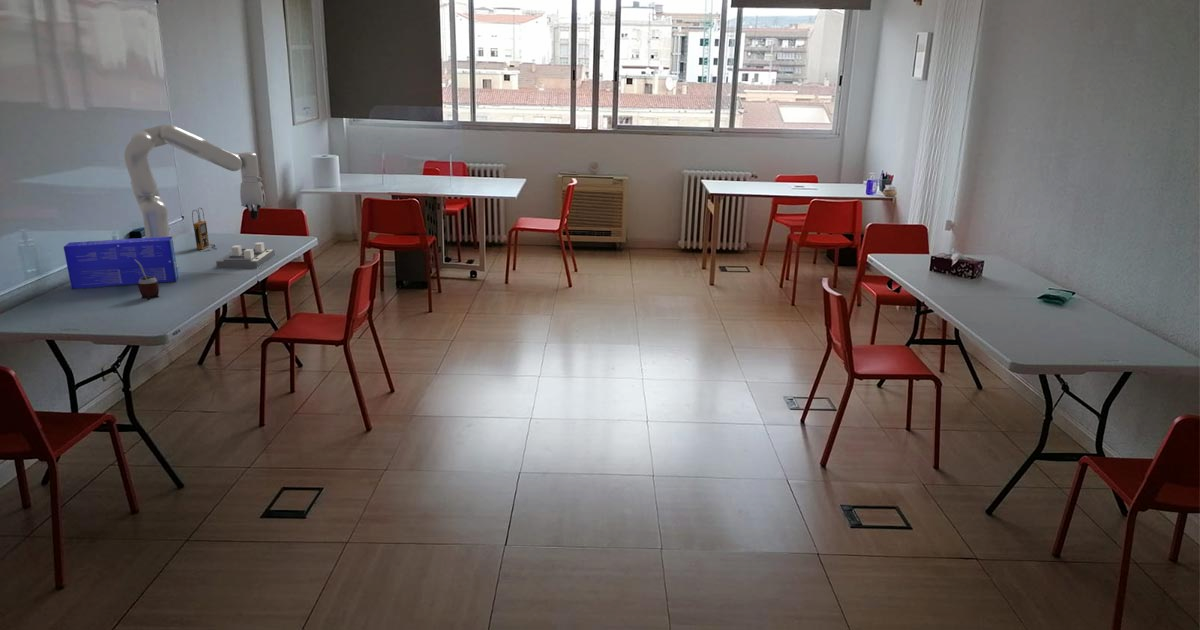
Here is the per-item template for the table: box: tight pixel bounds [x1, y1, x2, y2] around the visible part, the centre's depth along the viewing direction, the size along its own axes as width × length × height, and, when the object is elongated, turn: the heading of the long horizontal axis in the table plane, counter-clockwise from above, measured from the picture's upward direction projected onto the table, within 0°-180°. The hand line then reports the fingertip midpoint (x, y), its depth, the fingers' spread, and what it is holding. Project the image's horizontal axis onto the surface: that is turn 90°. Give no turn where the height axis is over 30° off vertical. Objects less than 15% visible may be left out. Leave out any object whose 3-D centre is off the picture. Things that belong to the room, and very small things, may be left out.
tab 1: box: [244, 248, 254, 259], centre depth 372 cm, size 4×3×4 cm
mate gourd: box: [135, 259, 160, 301], centre depth 321 cm, size 8×8×15 cm
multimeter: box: [191, 207, 218, 252], centre depth 401 cm, size 15×10×20 cm
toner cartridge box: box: [63, 236, 179, 290], centre depth 339 cm, size 39×8×18 cm, turn 110°
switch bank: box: [215, 247, 276, 269], centre depth 380 cm, size 24×18×4 cm
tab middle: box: [230, 244, 243, 255], centre depth 379 cm, size 4×3×4 cm
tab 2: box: [254, 241, 266, 252], centre depth 386 cm, size 4×3×4 cm
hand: (254, 218), depth 381 cm, fingers closed
